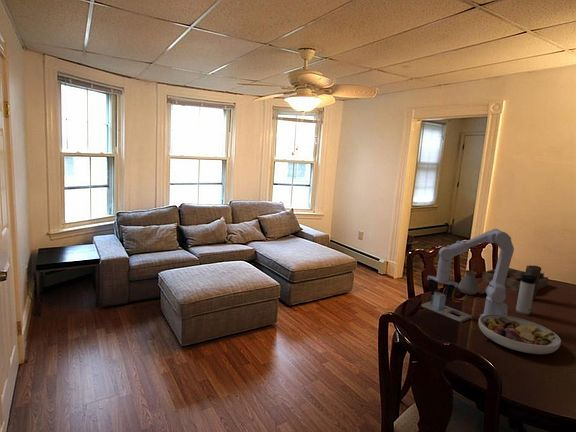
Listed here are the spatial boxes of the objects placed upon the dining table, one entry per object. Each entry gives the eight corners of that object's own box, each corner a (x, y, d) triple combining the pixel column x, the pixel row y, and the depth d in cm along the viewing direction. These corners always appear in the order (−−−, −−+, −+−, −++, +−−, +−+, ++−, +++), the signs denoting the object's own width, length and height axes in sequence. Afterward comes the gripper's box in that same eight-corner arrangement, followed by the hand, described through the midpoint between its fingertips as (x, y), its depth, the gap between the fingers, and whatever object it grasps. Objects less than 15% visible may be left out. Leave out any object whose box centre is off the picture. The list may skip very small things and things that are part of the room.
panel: (471, 317, 175) (471, 315, 175) (461, 322, 169) (461, 319, 169) (431, 302, 192) (432, 300, 192) (421, 306, 186) (421, 303, 185)
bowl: (484, 318, 177) (487, 303, 176) (560, 340, 158) (563, 323, 157) (470, 338, 154) (472, 321, 152) (556, 367, 135) (560, 347, 134)
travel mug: (532, 316, 184) (539, 278, 181) (518, 314, 185) (525, 276, 182) (527, 311, 190) (533, 274, 187) (513, 309, 191) (519, 273, 188)
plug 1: (432, 298, 199) (433, 291, 199) (440, 300, 197) (441, 293, 197) (430, 302, 192) (431, 295, 192) (438, 304, 190) (439, 297, 190)
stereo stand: (546, 287, 235) (548, 277, 234) (527, 295, 215) (529, 284, 214) (502, 276, 256) (503, 266, 255) (481, 282, 237) (483, 272, 236)
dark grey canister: (538, 302, 205) (544, 268, 203) (525, 301, 206) (531, 267, 203) (529, 297, 213) (535, 264, 210) (517, 296, 213) (522, 263, 210)
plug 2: (444, 310, 183) (446, 295, 181) (438, 311, 181) (440, 296, 180) (437, 307, 186) (440, 292, 185) (432, 308, 184) (434, 293, 183)
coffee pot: (476, 297, 205) (480, 272, 203) (455, 292, 212) (458, 268, 210) (482, 288, 223) (485, 265, 221) (461, 284, 229) (465, 261, 227)
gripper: (461, 273, 179) (457, 299, 181) (432, 266, 188) (428, 291, 190) (456, 275, 174) (453, 302, 176) (426, 268, 183) (423, 294, 185)
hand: (440, 296), depth 183 cm, fingers open, 7 cm apart
